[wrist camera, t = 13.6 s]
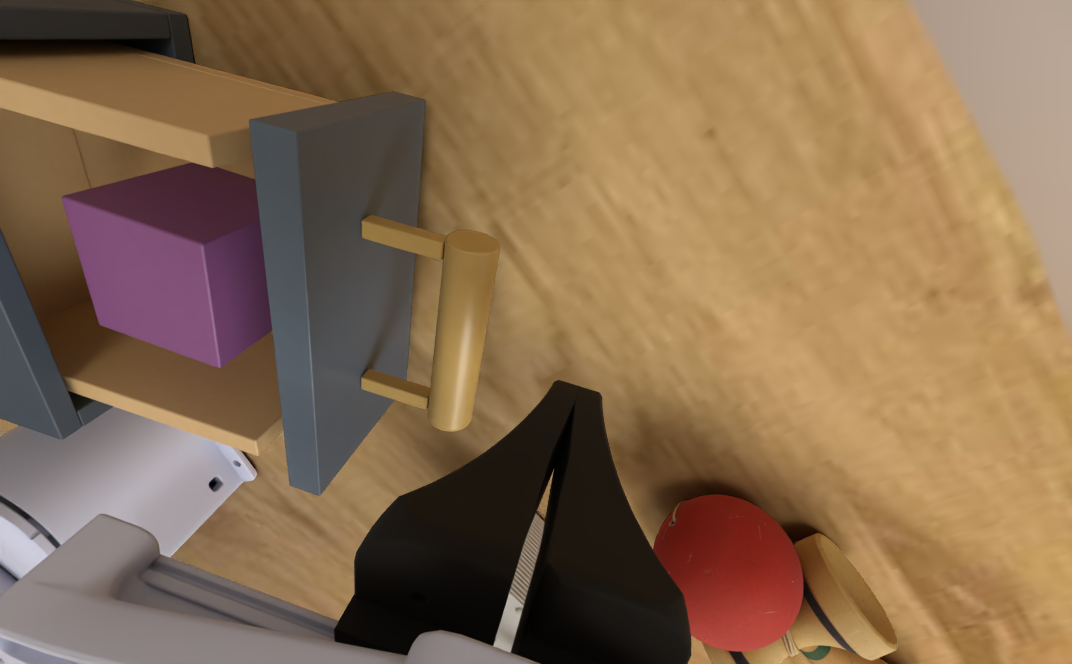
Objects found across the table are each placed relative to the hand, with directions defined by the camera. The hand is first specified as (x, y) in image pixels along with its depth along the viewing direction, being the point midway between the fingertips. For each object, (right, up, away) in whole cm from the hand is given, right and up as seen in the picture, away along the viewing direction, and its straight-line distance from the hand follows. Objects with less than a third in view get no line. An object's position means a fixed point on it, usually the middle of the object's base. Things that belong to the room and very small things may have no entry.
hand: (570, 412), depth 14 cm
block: (-12, +6, +5) cm, 14 cm away
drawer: (-11, +6, +6) cm, 14 cm away
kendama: (+12, -10, +11) cm, 19 cm away
